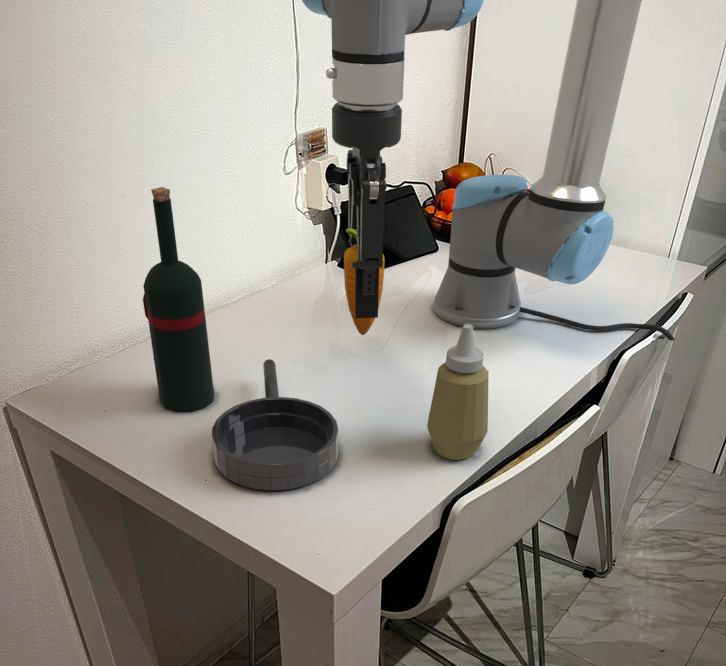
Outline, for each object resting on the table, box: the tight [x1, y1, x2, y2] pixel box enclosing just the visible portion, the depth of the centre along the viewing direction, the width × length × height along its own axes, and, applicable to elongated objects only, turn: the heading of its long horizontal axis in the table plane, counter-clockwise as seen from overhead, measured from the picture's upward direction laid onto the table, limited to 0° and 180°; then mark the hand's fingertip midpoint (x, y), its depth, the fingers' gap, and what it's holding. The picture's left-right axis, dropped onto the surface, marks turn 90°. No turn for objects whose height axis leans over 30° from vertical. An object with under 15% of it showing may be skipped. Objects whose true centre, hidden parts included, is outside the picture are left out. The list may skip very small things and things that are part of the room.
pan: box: [211, 396, 339, 491], centre depth 105 cm, size 16×16×4 cm
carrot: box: [343, 227, 386, 336], centre depth 97 cm, size 5×5×15 cm
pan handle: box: [262, 358, 280, 398], centre depth 115 cm, size 2×12×2 cm, turn 8°
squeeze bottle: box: [426, 324, 490, 461], centre depth 103 cm, size 8×8×18 cm
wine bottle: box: [142, 186, 215, 413], centre depth 109 cm, size 8×10×30 cm
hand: (363, 306), depth 99 cm, fingers closed on carrot, 5 cm apart
